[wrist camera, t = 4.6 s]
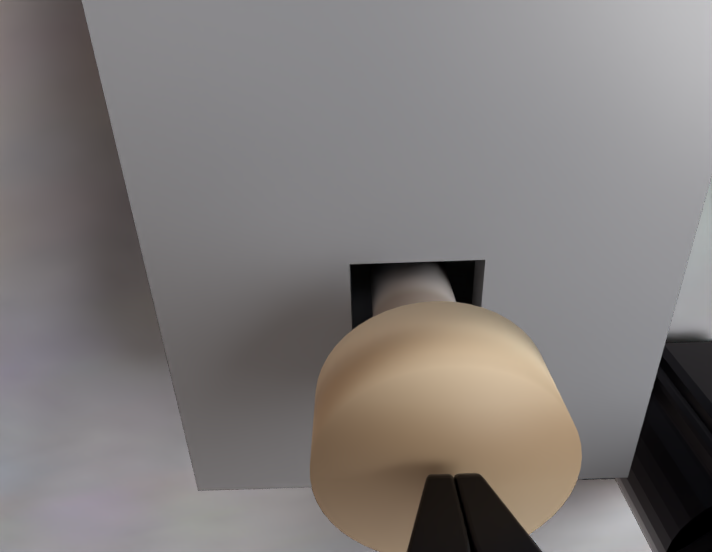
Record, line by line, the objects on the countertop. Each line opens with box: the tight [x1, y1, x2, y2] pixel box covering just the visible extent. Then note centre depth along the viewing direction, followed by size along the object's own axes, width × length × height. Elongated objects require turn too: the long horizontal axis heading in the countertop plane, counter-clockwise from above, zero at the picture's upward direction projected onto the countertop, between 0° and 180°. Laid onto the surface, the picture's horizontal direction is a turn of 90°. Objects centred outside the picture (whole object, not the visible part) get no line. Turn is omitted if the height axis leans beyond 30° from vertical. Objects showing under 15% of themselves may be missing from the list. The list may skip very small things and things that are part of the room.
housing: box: [82, 0, 712, 491], centre depth 13 cm, size 22×12×6 cm, turn 2°
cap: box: [310, 261, 582, 552], centre depth 12 cm, size 4×4×7 cm
